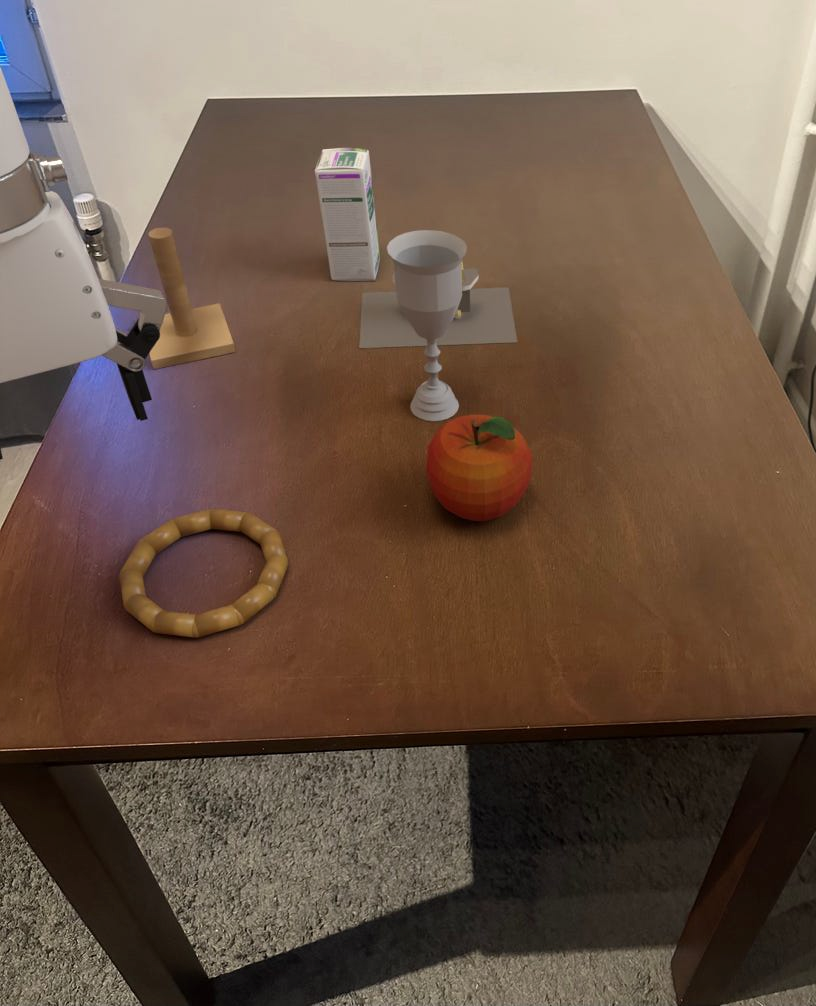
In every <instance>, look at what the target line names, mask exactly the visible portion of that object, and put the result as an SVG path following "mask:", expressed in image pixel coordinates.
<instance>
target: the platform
mask: <svg viewBox="0 0 816 1006" xmlns="http://www.w3.org/2000/svg"><path fill="white" fill-rule="evenodd" d="M479 276H480V275H479V269H477V268H474V267H473V268H464V264H463V261H462V298H461V301H460V303H459V306H458V309H457V312H456V314H455V317H454V319H453V320H452V322H451V324H450V326H449V328H448V329H447V331H446V333H445V335H444V336H442V337H440V338H438V339H437V340H436V344H437V346H454V345H455V346H456V345H457V346H459V345H482V344H483V345H484V344H487V345H488V344H509V343H511V344H512V343H518V337H517V330H516V324H515V319H514V318H515V317H514V311H513V307H512V300H511V294H510V287H482V288H481V287H480V288H479V287H478V288H473V287H474V286H475V284H476V283H477V282H478V281H479ZM391 280H392V283H393V284H394V285H396V283H395V270H394V271H393V272H392V273H391ZM359 324H360V325H359V341H358V343H359V344H358V348H359V349H376V348H378V349H379V348H404V347H406V348H407V347H426V345H427V340H426V339H424V338H421V337H420V336H418V334H417V333H416V332H415V330H414V329H413V327H412V326H411V324H410V323H409V321H408V320H407V318H406V317H405V315H404V313H403V310H402V308H401V306H400V304H399V302H398V300H397V295H396V290H394V291H393V290H392V291H365V292H362V293H361V307H360V323H359Z"/></svg>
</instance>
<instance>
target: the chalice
mask: <svg viewBox="0 0 816 1006" xmlns="http://www.w3.org/2000/svg"><path fill="white" fill-rule="evenodd" d="M386 251H387V254H388V255H389V257H390V258H391V260H392V262H393V267H394V269H393V270H394V271H395V283H396V284H395V291H396V295H397V300H398V302H399V304H400V306H401V308H402V310H403V313H404V315H405V317H406V318H407V320H408V321H409V323H410V324H411V326H412V327H413V329H414V330H415V332H416V333H417V334H418V336H420V337H421V338H424V339H426V340H427V345H426V346H425V349H424V350H423V355H424V356H425V357H426V359H427V362H426V364H425V365H424V366H423V370H424V371H425V372H427V375H428V377H427V380H426V381H424V382H423V383H421V384H420V385H418V387H417V389H416V391H415V393H414V396H413V398H412V400H411V402H410V405H409V406H410V411H411V413H412V414H413V415H414V416H415V417H417V418H418V419H420V420H423V421H427V422H428V421H429V422H439V421H445V420H447V419H450V418H451V417H453V416H455V415H456V414H457V412H458V410H459V407H460V404H459V400H458V399H457V398H456V395H455V394H454V392H453V391H452V388H451V387H450V385H449V384H447V382H445V381H443V380H439V373H440V371H441V370H442V369H443V368H442V364H440V363H439V362H438V361H439V360H438V358H439V356H440V355H441V350H440V349H439V348H438V345H437V344H436V340H437V339H438V338H440V337H442V336H444V335H445V333H446V331H447V329H448V328H449V326H450V324H451V322H452V320H453V319H454V317H455V314H456V312H457V309H458V306H459V303H460V301H461V298H462V262H463V259H464V257H465V256H466V254H467V251H468V247H467V244H466V242H465V241H464V240H463V239H462V238H461V237H459V236H457V235H455V234H453V233H450V232H446V231H442V230H434V229H423V230H422V229H421V230H413V231H407V232H404V233H402V234H399V235H396V236H395V237H394V238H393V239H391V240H390V241H389V242H388V244H387V246H386Z"/></svg>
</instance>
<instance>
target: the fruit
mask: <svg viewBox="0 0 816 1006" xmlns="http://www.w3.org/2000/svg"><path fill="white" fill-rule="evenodd" d="M425 465H426V466H425V472H426V475H427V479H428V480H427V481H428V483H429V486H430V489H431V492H432V494H433V495H434V497H435V498H436V500H437V501H438V503H440V504H441V505H442V507H443V508H444V509H445V510H447V511H448V512H450V513H452V514H454V515H455V516H457V517H459V518H461V519H464V520H468V521H471V522H487V521H491V520H496V519H498V518H499V517H502V516H504V515H505V514H508V512H509V511H511V510H512V509H513V508H514V507H515V506H516V505H518V503H520V501H521V499H522V498H523V496H524V494H525V492H526V490H527V489H528V486H529V485H530V483H531V477H532V471H533V470H532V469H533V458H532V452H531V449H530V448H529V446H528V444H527V442H526V440H525V438H524V436H523V434H522V433H520V432H519V431H518V430H517V429H516V428H515V427H514V426H513V425H512V423H511V422H510V421H508V420H506V419H505V418H503V417H502V416H492V415H488V414H466V415H462V416H458V417H455V418H453V419H451V420H449V421H448V422H446V423H445V424H443V425H442V426H440V427H439V428H437V430H436V432H435V434H434V436H433V437H432V438H431V441H430V442H429V444H428V446H427V454H426V464H425Z"/></svg>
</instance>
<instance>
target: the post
mask: <svg viewBox="0 0 816 1006" xmlns="http://www.w3.org/2000/svg"><path fill="white" fill-rule="evenodd" d="M147 236H148V239H149V243H150V246H151V250H152V253H153V257H154V260H155V264H156V267H157V272H158V274H159V277H160V281H161V285H162V289H163V293H164V297H165V299H166V302H167V307H168V310H169V312H168V313H165V316H164V320H163V323H162V325H161V328H160V331H159V332H160V338H159V340H158V341H157V342H156V344H155V345H154V347H153V348H152V350H151V351H150V353H149V354H148V355H149V358H150V362H151V366H152V369H153V370H158V369H163V368H167V367H173V366H176V365H181V364H186V363H191V362H196V361H201V360H205V359H209V358H214V357H220V356H224V355H228V354H233V353H236V346H235V343H234V340H233V337H232V334H231V331H230V328H229V326H228V322H227V320H226V317H225V315H224V311H223V309H222V305H221V303H214V304H209V305H203V306H199V307H194V308H193V306H192V302H191V298H190V294H189V291H188V288H187V283H186V279H185V275H184V272H183V267H182V264H181V260H180V257H179V252H178V249H177V245H176V242H175V241H176V240H175V238H174V234H173V230H172V229H171V228H169V227H164V226H163V227H162V226H161V227H155V228H153V229H151V230H150V231H149V232H148V235H147Z"/></svg>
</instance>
